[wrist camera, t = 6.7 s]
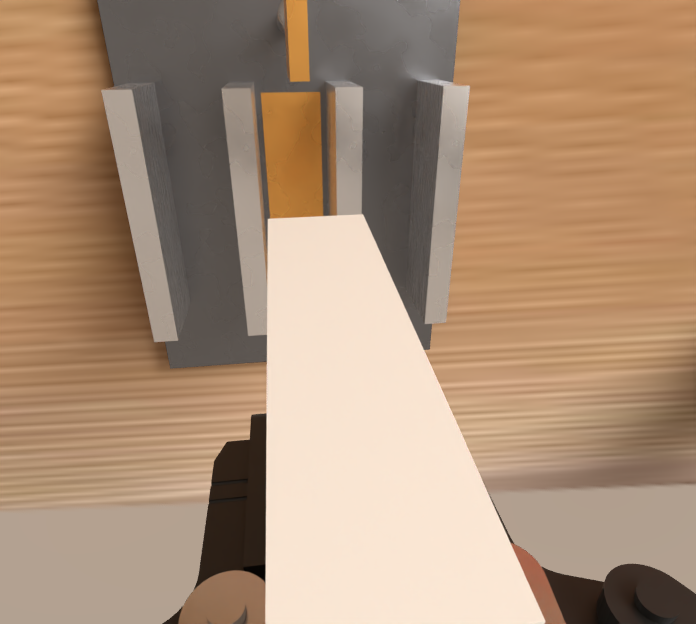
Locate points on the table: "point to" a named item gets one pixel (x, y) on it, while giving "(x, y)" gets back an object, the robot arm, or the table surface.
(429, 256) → the rack
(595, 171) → the table surface
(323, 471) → the block
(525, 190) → the table surface
